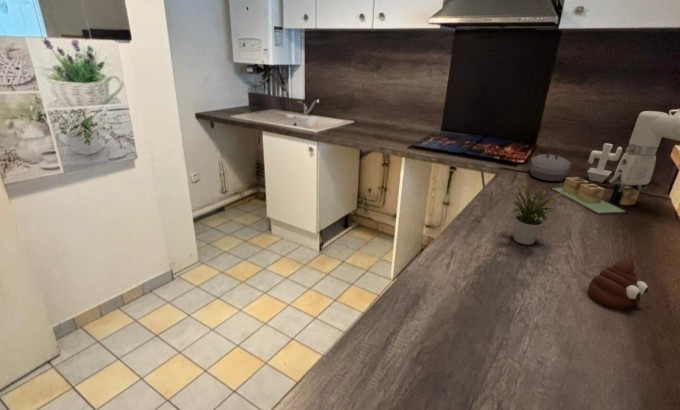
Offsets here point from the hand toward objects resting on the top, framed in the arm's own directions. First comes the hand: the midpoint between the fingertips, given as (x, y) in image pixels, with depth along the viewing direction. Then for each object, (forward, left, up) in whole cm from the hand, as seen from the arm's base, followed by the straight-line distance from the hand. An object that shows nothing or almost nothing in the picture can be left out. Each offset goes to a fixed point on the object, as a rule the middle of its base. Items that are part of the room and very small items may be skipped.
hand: (622, 200), depth 124 cm
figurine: (-10, -22, -1) cm, 24 cm away
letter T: (0, 0, 0) cm, 0 cm away
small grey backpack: (+7, -29, -1) cm, 30 cm away
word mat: (+11, -3, 0) cm, 12 cm away
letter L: (+12, -9, 0) cm, 15 cm away
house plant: (+52, +21, -1) cm, 57 cm away
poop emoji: (+47, +47, -1) cm, 67 cm away
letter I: (+11, -2, 0) cm, 12 cm away
